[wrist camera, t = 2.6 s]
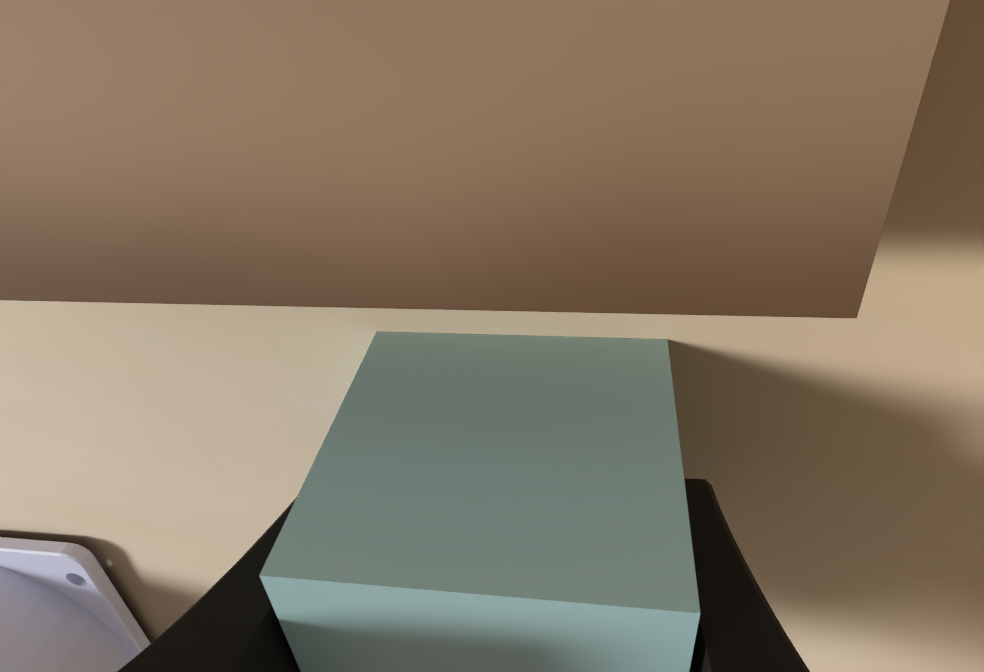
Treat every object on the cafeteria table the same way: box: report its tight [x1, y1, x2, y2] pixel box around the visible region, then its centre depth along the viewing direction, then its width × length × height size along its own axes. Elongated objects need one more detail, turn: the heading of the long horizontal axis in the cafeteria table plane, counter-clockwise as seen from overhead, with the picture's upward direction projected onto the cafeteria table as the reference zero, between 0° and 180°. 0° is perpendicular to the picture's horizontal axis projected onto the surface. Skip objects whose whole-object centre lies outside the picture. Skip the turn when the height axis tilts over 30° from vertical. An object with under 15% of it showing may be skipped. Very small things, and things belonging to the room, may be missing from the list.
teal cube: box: [259, 332, 700, 672], centre depth 11 cm, size 5×5×5 cm
